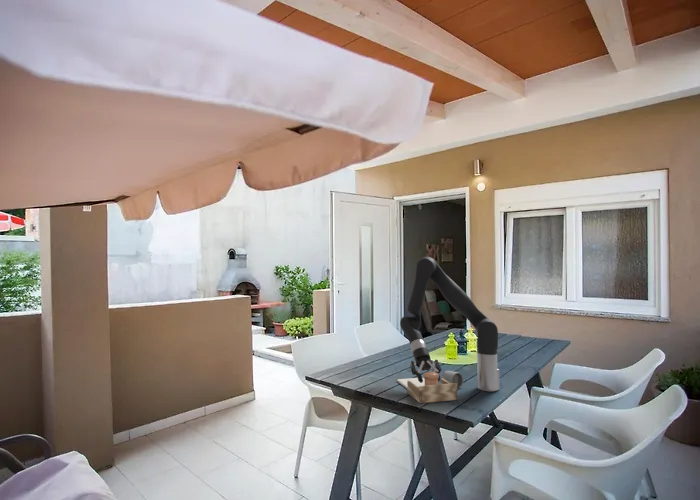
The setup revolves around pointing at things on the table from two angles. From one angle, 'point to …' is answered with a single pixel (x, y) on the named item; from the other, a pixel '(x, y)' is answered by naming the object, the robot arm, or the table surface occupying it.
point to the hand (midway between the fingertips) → (430, 381)
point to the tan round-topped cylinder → (431, 378)
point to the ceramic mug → (453, 378)
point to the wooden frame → (433, 392)
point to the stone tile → (413, 380)
